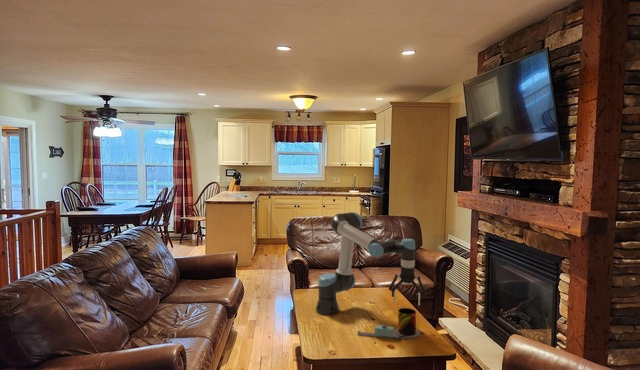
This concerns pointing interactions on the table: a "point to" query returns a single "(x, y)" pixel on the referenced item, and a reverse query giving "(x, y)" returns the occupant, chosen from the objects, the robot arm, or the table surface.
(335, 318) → the table surface
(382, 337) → the rail
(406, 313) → the mug
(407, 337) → the coaster
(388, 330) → the latch block
